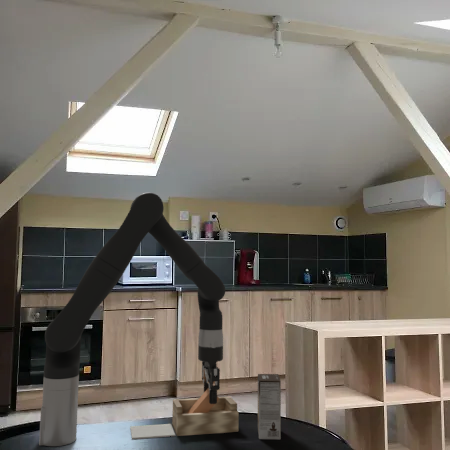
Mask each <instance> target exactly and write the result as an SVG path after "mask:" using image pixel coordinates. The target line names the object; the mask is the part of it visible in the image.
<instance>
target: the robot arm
mask: <svg viewBox="0 0 450 450" xmlns="http://www.w3.org/2000/svg"><path fill="white" fill-rule="evenodd" d="M164 207H165V206H164V202H163V200H162V197H160V195H157V194H156V193H154V192H144V193H141V194H139V195H137V196H136V197H135V198H134V199H133V200H132V203H131V205H130V208H129V211H128V213H127V215H126V216H125V218H124V220H123V222H122V223H121V224H120V226H119V227H118V229H117V230H116V232H115V233H114V234H113V235H112V236H111V237H110V238H109V239H108V241H106V243H105V244H104V245H103V246H102V247H101V249H100V250H98V253H97V254H96V255H95V257H94V258H93V260H92V261H91V262H90V264H89V265H88V267H87V268H86V270H85V272H84V274H83V276H82V277H81V279H80V281H79V283H78V285H77V286H76V289H75V291H74V292H73V294H72V296H71V297H70V299H69V300H68V302H67V304H66V305H65V306H64V307H63V309H61V311H60V312H59V313H58V315H56V317H55V318H54V319H53V320H52V321H51V322H50V323H48V326H47V327H46V329H45V330H44V331H45V333H44V341H45V343H46V348H45V349H46V350H45V360H44V366H43V380H42V381H43V387H42V400H41V401H42V402H41V403H42V405H41V407H40V416H39V417H40V419H39V438H38V440H39V441H38V445H39V446H47V447H62V446H66V445H70V444H72V443H74V442H75V441H76V440H77V432H78V429H77V427H78V411H79V409H78V408H79V407H78V405H79V385H80V382H79V381H80V364H81V347H82V346H81V345H82V334H83V332H84V330H85V328H86V327H87V325H88V323H89V321H90V319H91V318H92V316H93V314H94V313H95V311H96V310H97V309H98V308H99V306H100V305H102V303H103V302H104V300H105V299H106V298H107V297H108V296H109V294H110V293H111V292H112V291H113V289H114V288H115V287H116V285H117V284H118V282H119V281H120V279H121V277H122V276H123V274H124V273H125V272H126V270H127V268H128V266H129V265H130V264H131V261H132V260H133V258H134V256H135V254H136V252H137V250H138V248H139V247H140V245H141V243H142V241H143V240H144V239H145V237H146V235H148V234H149V235H151V236H152V237H153V238H154V239H155V240H156V242H158V244H159V245H160V246H161V247H162V248H163V250H164V251H165V252H166V253H167V255H168V256H169V257H170V259H171V260H172V261H173V263H175V265H176V266H177V267H178V269H179V270H180V271H181V272H182V274H184V276H185V277H186V278H187V279H188V280H190V281H192V282H193V283H194V284H195V286H196V287H197V303H198V309H199V331H198V344H197V346H198V347H197V348H198V352H197V355H198V356H197V358H198V360H199V361H200V362H201V381H202V383H203V393H204V392H205V391H206V390H207V389H208V388H209V403H210V404H216V403H217V396H218V391H219V390H220V380H221V379H220V378H221V377H220V375H221V374H220V373H221V369H220V368H219V366H217V363H218V362H221V361H223V360H224V334H223V333H224V332H223V312H222V310H221V309H220V301H221V300H222V299H223V298H224V297H225V295H226V286H225V284H224V282H223V280H222V279H221V278H220V277H219V276H218V275H217V274H216V273H215V272H214V271H213V270H212V269H211V268H210V267H209V266H207V265H206V263H205V262H204V261H203V259H202V258H201V256H200V255H199V254H198V253H197V252H196V250H195V249H194V248H193V247H192V246H191V244H189V243H188V242H187V241H186V240H185V239H184V238H183V237H182V236H181V235H180V234H178V232H177V231H176V230H175V229H174V228H173V227H172V225H170V223H169V222H168V220H167V219H166V217H165V216H164Z"/></svg>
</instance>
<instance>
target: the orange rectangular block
mask: <svg viewBox="0 0 450 450" xmlns="http://www.w3.org/2000/svg"><path fill="white" fill-rule="evenodd" d="M218 397H219V396H218V395H217V401H218V400H219V398H218ZM198 398H199V399H198V400H197V401H196V403H195V404H194V405H193V406H192V407H191V409H190V410H189V411H188V412H187V413H186V414H189V413H206V412H209V410H210V409H211V408H212V407H213V406H214V405H215V404H210V403H209V388H208V389H207V390H206V391H205V392H204V391H203V394H201V395H200V397H198Z"/></svg>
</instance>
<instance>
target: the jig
mask: <svg viewBox="0 0 450 450" xmlns="http://www.w3.org/2000/svg"><path fill="white" fill-rule="evenodd" d="M199 398H200V397H196V398H195V397H193V398H176V399H175V398H174V399H172V414H171V415H172V420H171V426H172V428H173V430H174V433H175V436H177V437H179V436H180V437H183V436H195V435H209V434H224V433H225V434H226V433H236V432H239V419H240V416H239V414H240V413H239V411H238V402H237V401H235V400H234V399H233V398H232V397H231V396H230V395H229V396H218V398H219V400H218V401H217V403H216V404H215V405H214V406H213V407H212V408H211V409H210V410H209V412H206V413H189V414H186V413H187V412H188V411H189V410H190V409H191V407H192V406H193V405H194V404H195V403H196V401H197V400H198V399H199Z"/></svg>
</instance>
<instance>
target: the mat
mask: <svg viewBox="0 0 450 450" xmlns="http://www.w3.org/2000/svg"><path fill="white" fill-rule="evenodd" d="M129 429H130V435H131V440H139V439H140V440H141V439H143V440H144V439H155V438H167V437H170V436H171V437H176V432H175V430H174V428H173V426H172V423H165V424H164V423H162V424H148V425H135V426H132V425H131V426H130V427H129Z"/></svg>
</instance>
